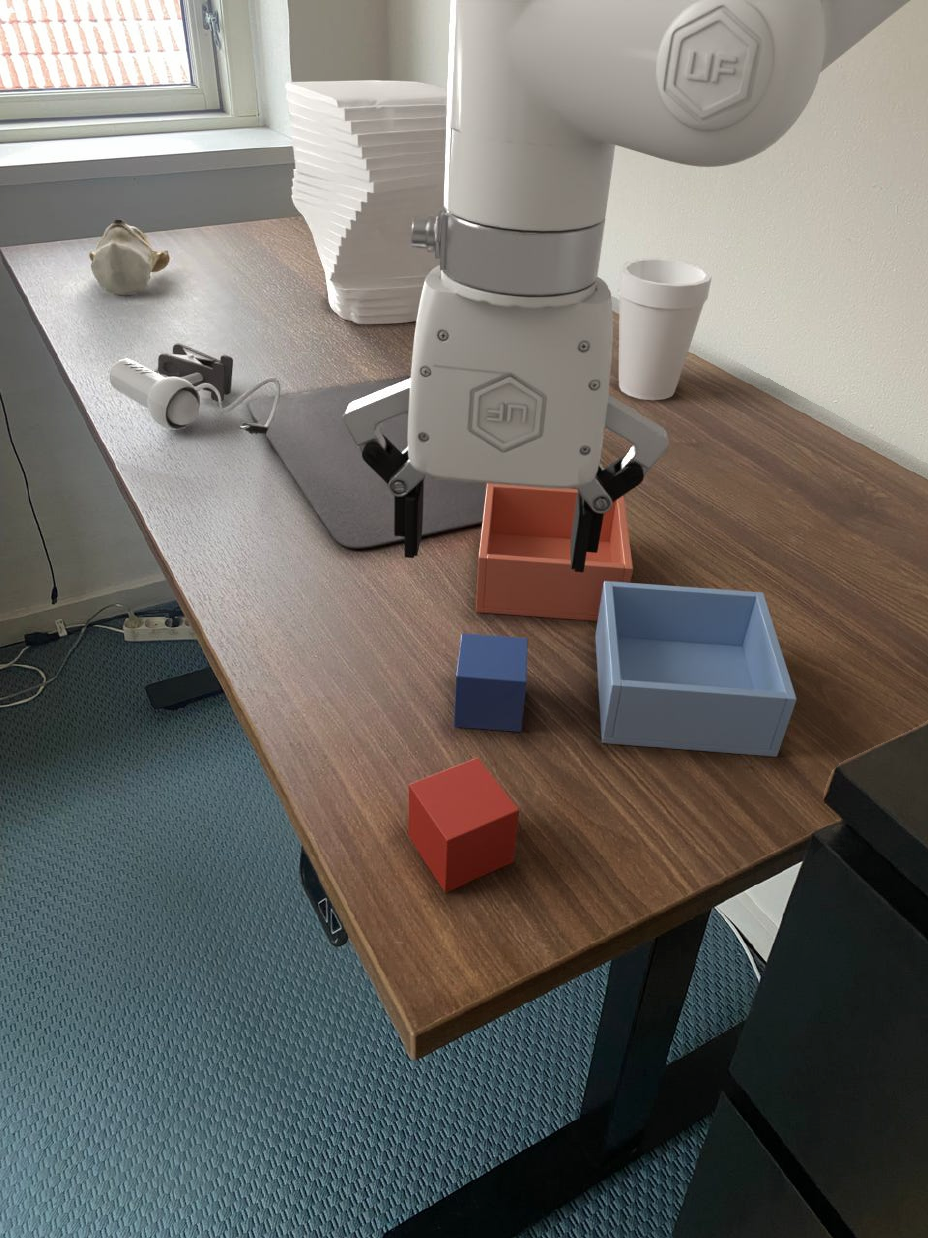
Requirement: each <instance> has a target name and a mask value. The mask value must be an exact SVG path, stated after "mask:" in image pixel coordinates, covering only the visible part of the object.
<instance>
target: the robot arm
mask: <svg viewBox="0 0 928 1238" xmlns="http://www.w3.org/2000/svg"><path fill="white" fill-rule="evenodd" d="M910 1H911V0H450V22H449V44H448V45H449V46H448V47H449V49H448V72H447V75H448V76H447V90H448V99H447V128H446V162H445V190H444V208H443V210H439V211H438V213H437V216H429V218H428V219H426V218H413V222H412V233H411V243H412V247H415V248H427V251H428V252H435V259H440V265H439V266H437V267H435V268H434V269H432V270H431V271H430V273H429V275H428V276H427V277H426V279H425V283H424V286H423V290H422V295H421V299H420V304H419V310H418V315H417V321H415V329H414V335H413V336H414V338H413V346H412V358H411V369H410V376H411V378H410V379H408V380H406V381H403V382H401V383H398V384H396V385H393V386H391V387H388V388H386V389H384V390H381V391H379V392H376V393H374V394H371V395H369V396H367V397H364V398H362V399H359V400H357V401H354V402H352V403H350V404H349V406H348V407H347V410H346V412H345V415H344V418H343V420H344V423H345V425H346V427H347V429H348V430H349V432H350V434H351V436H352V438H353V439H354V441H355V443H356V445H357V446H359V448H360V450H361V452H362V458H363V460H364V461H365V462H366V463H367V464H368V465H369V466H370V467H371V468H372V469H373V470H374V471H375V472H376V473H377V474H378V475H379V476H380V477H381V478H382V479H383V480H384V481H385V482H386V483H387V484H388V489H389V492H390V493H391V494H393V495H394V496H395V507H394V535H395V536H402V537H405V540H404V558H405V559H415V557H418V556H419V555H418V554H419V549H420V545H421V540H422V537H421V535H422V526H423V492H424V478H425V477H426V476H430V477H435V478H440V479H448V480H457V481H468V482H480V483H491V484H504V485H516V486H529V487H542V488H561V489H566V488H576V489H577V490H578V493H577V500H576V506H575V513H574V520H573V527H572V534H571V541H570V554H571V569H574V572H584V566H585V560H586V554H587V552H592V553H597V551H598V546H599V540H600V534H601V528H602V522H603V516H604V513H606V512H608V511H609V510H610V509H611V507H612V503H613V502H614V501H616V500H617V499H619V498H620V497H622V496H623V495H624V496H625V495H626V494H627V493H629V492H631V491H632V490H634V489H635V488H637V487H638V486H640V485H641V483H643V481H644V478H645V475H646V474H647V472H649V471H651V469H652V468H653V467H654V466H655V465H656V463H657V462H658V461H659V460H660V459H661V458H662V456H663V455H664V454H665V452H666V451H667V450H668V448H669V444H670V442H669V438H668V433H667V431H666V429H665V428H664V427H663V426H661V425H660V424H658V423H656V422H655V421H654V420H651V419H650V418H648V417H646V416H645V415H643V414H642V413H640V412H638V411H637V410H635V409H634V408H632V407H630V406H629V405H627V404H626V403H624V402H622V401H621V400H619V399H617V398H615V397H614V396H613V395H611V394H610V393H609V392H610V381H611V371H612V354H613V302H612V301H613V300H612V292H611V291H610V288H609V286H608V284H607V283H606V281H604V280H603V279H602V278H600V277H599V270H600V269H599V268H600V261H601V253H602V247H603V240H604V233H605V225H606V216H607V208H608V201H609V193H610V186H611V179H612V172H613V166H614V165H613V164H614V157H615V150H616V146H618V147H621V148H624V149H628V150H631V151H634V152H638V153H641V154H644V155H648V156H651V157H654V158H657V159H661V160H664V161H668V162H672V163H676V164H680V165H685V166H691V167H699V168H701V167H702V168H714V167H715V168H716V167H717V168H718V167H726V166H730V165H735V164H738V163H740V162H741V163H742V162H743V161H747V160H748V159H751V158H754V157H756V156H758V155H760V154H761V153H763V152H764V151H766V150H768V149H769V148H770V147H771V146H773V145H775V144H776V143H777V142H778V141H780V139H781V138H783V136H784V135H786V133H788V131H789V130H790V129H791V128H792V127H793V126H794V125H795V123H796V122H797V121H798V120H799V118H800V116H801V115H802V113H803V112H804V111H805V109H806V107H807V106H808V104H809V102H810V100H811V98H812V96H813V94H814V91H815V89H816V87H817V84H818V83H819V78H820V74H821V73H823V71H824V70H826V69H827V68H828V67H829V66H830V65H832V64H833V63H835V61H837V60H838V59H839V58H840V57H842V56H843V55H844V54H846V53H847V52H848V51H849V50H850V49H851V48H852V47H854V46H855V45H856V44H858V43H859V42H860V41H862V40H863V39H864V38H865V37H866V36H868V35H869V34H870V33H871V32H873V31H874V30H875V29H876V28H877V27H879V26H880V25H881V24H882V23H884V22H885V21H886V20H887V19H889V18H890V17H891V16H892V15H894V14H895V13H896V12H897V11H899V10H901V9H902V8H903V7H904V6H905V5H906V4H908V3H909V2H910ZM408 411H409V412H408ZM406 412H408V447H407V448H406V449H405V450H404V451H403V452H402V453H401V452H400V451H399V450H398V449H397V448H396V447H395V446H394V445H393V444H392V443H391V442H390V441H389V440H388V439H387V438H386V437H385V436H384V435H383V434H382V433H381V432H380V428H379V426H378V423H381V422H383V421H386V420H388V419H391V418H393V417H396V416H398V415H401V414H403V413H406ZM605 429H607V430H609V431H610V432H612V433H614V435H615V434H616V435H617V436H619V437H621V438H622V439H624V440H625V441H627V442H629V443H630V444H632V446H631V447H630V448H629V451H628V452H627V453H626V454H624V455H622V456H621V457H619V458H618V459H617V460H615V461H614V462H613V463H611V464H610V465H608V466H607V467H606V468H604V467H603V465H602V464H601V457H602V451H603V446H604V445H603V444H604V438H605ZM419 434H420V435H419Z"/></svg>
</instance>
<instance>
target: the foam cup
mask: <svg viewBox="0 0 928 1238" xmlns="http://www.w3.org/2000/svg"><path fill="white" fill-rule="evenodd" d="M712 278H713V275H712V274H711V272H710V271H708V269H707V268H704V267H702V266H700V265H698V264H695V263H692V262H688V261H683V260H679V259H671V258H659V257H653V258H649V257H648V258H637V259H634V260H633V259H632V260H629V261H626V262H625V263H624V264H623V265H622V266H620V271H619V277H618V286H617V292H618V293H619V297H618V298H619V299H618V301H619V304H618V305H619V309H618V313H619V314H618V387H619V390H620V391H621V392H622V393H623V394H625V395H627V396H629V397H632V398H635V399H638V400H644V401H645V400H647V401H660V400H666V399H669V398H671V397H673V396H674V394H675V392H676V389H677V387H678V384H679V381H680V378H681V376H682V372H683V369H684V366H685V363H686V359H687V357H688V353H689V350H690V348H691V344H692V341H693V339H694V335H695V332H696V329H697V325H698V323H699V321H700V317H701V314H702V311H703V307H704V305H705V303H706V301H707V300H708V298H709V293H710V288H711V282H712Z"/></svg>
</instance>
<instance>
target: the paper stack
mask: <svg viewBox="0 0 928 1238" xmlns="http://www.w3.org/2000/svg"><path fill="white" fill-rule="evenodd" d="M284 89H285V96H286V101H287V108H288V109H287V111H288V113H289V118H290V130H291V131H290V133H291V143H292V150H293V159H294V167H295V169H293V170H292V171H293V177H292V179H291V180H292V186H291V194H290V196H291V200H292V203H293V206H294V207H295V209H296V210H297V211H298V212H299V214H301V215H302V216H303V217H304V220H305V222H306V224H307V226H308V228H309V230H310V232H311V235H312V238H313V242H314V244H315V247H316V249H317V254H318V256H319V260H320V262H321V265H322V268H323V271H324V274H325V280H326V287H327V295H328V297H327V298H328V303H329V306H330V308H331V310H332V311H333V312H334V313H336V314H337V315H338V317H340V318H341V319H342V320H345V321H350V322H353V323H355V324H358V325H380V324H381V325H387V324H405V323H412V322H416V321H417V315H418V310H419V304H420V299H421V295H422V290H423V286H424V283H425V279H426V277H427V276H428V275H429V273H430V271H431V270H432V269H434V268H435V267H437V266H439V265H440V259H435V252H428V251H427V248H415V247H412V243H411V233H412V222H413V218H426V219H428V218H429V216H437V213H438V211H439V210H443V208H444V190H445V162H446V128H447V99H448V88H444V87H442V86H441V85H438V84H437V85H436V84H431V83H426V82H421V81H413V80H412V81H408V80H376V79H369V80H368V79H366V80H363V79H362V80H320V81H318V80H317V81H315V80H314V81H286V82H285V85H284Z"/></svg>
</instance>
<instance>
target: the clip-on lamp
mask: <svg viewBox="0 0 928 1238" xmlns="http://www.w3.org/2000/svg"><path fill="white" fill-rule="evenodd" d="M157 360H158V361H157V368H155V369H154V370H152V369H150V368H148V367H146V366H144V365H143V364H140V363H138V362H137V361H135V360H133V359H130V358H122V359H120V360H118V361H116V362H114V364H113V365H112V366H111V368H110V371H109V375H108V376H109V382H110V384H111V386H112V388H113V389H114V390H116V391H117V392H119V393H120V394H122V395H124V396H125V397H127V398H129V399H131V400H132V401H134V402H136V403H138V404H139V405H141V406H142V407H145V409H147V410H148V412H149V414H150V416H151V418H152V419H153V420H154V421H155V422H156V423H157V424H158V425H160V426H161V427H163V428H165V429H169V430H172V431H179V430H183V429H185V428H187V427H189V426H190V425H191V424H192V423H193V422H194V421H195V420H196V419H197V418H198V415H199V412H200V407H201V395H200V393H199V392H200V390H203V391H206V392H209V393H210V399H211V400H212V401H214V402H217V403H218V407H219V411H220V413H221V414H227V413H229V412H231V411H232V410H234V409H235V408H236V407H238V406H239V405H240V404H242V403H243V401H245V400H246V399H247V398H248V397H250V396H251V395H253V393H254V392H256V391H257V390H258V389H260V388H261V387H262V386H265V385H267V384H268V383H274V384H275V386H276V392H275V396H276V398H275V402H274V405H273V409H272V411H271V414H270V417H269V419H268V421H267V423H266V424H265V425H264V426H263V425H261V424H257V422H256V423H255V422H250V421H249V422H248V421H243V422H242V423H241V426H239V430H244V431H246V432H248V434H251V435H253V434H255V435H258V434H262V435H265V434H266V432H267V430H268V427H269V426H270V424H271V422H272V420H273V418H274V415H275V413H276V410H277V406H278V402H279V398H280V395H281V384H280V381H279V380H278V379H277V378H276V377H268V378H265V379H263V380H260V381H259V382H258V383H256V384H255V385H253V386H252V387H251V388H249V389H248V390H247V391H246V392H244V393H243V394H242V395H240V396H239V397H238V398H237V399H236V400H235V401H233V402H232V403H230V404H229V405H228V406H226V407H224V408H223V406H222V404H223V403H222V402H223V401H224V399H225V396H228V395H230V394H231V393H232V382H233V381H232V380H233V368H234V359H233V357H231V356H229V355H227V354H222V355H221V356H220V359H218V358H216V357H213V356H211V355H209V354H206V353H204V352H202V351H200V350H197V349H194V348H192V347H189V346H187V345H184V344H183V343H179V342H177V343H174V344H173V346H172V353H166V352H165V353H164V352H162V353H161V354H159V356H158V359H157Z"/></svg>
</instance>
